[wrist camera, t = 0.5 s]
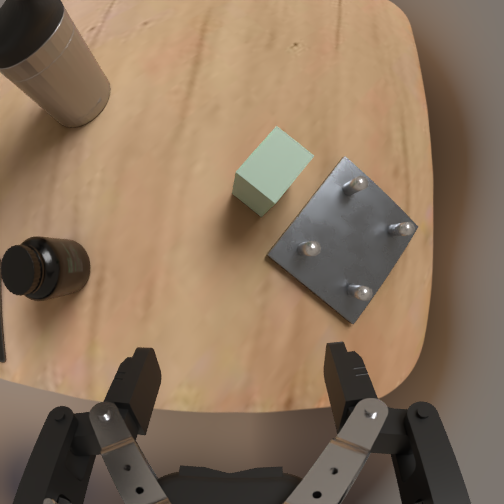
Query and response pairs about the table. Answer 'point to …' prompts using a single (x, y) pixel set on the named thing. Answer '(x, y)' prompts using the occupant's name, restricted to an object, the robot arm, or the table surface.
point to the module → (270, 171)
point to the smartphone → (1, 328)
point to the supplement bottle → (45, 268)
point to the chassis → (345, 240)
